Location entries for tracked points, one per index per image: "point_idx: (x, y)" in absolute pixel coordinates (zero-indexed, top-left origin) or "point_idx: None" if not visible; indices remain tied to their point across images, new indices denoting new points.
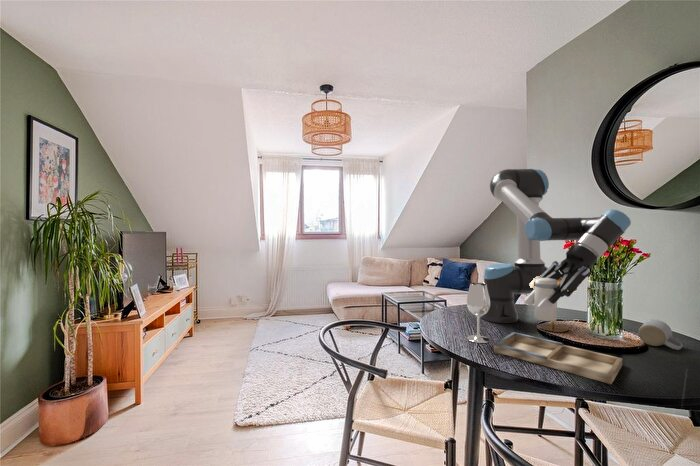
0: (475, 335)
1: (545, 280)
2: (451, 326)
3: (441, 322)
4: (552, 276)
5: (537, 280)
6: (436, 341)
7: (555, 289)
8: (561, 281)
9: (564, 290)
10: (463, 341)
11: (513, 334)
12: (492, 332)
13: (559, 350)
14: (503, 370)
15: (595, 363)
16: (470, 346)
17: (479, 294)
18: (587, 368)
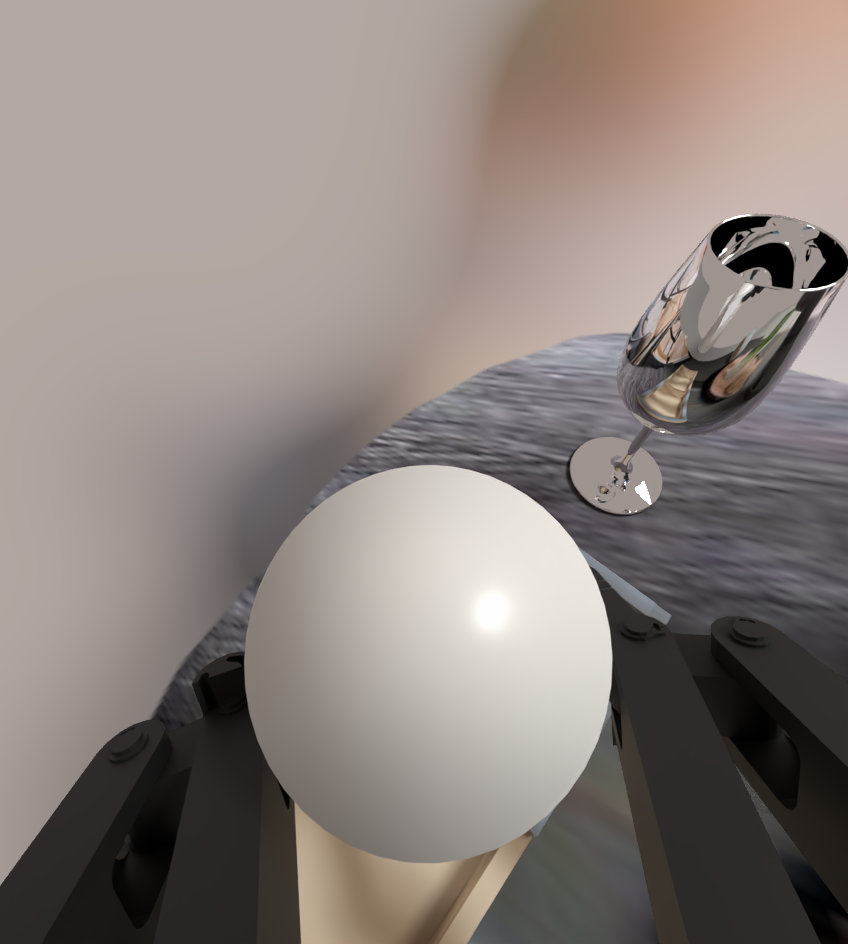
0: (649, 469)
1: (344, 574)
2: (762, 411)
3: (807, 384)
4: (677, 929)
5: (381, 474)
6: (556, 349)
7: (214, 662)
8: (229, 874)
9: (102, 750)
10: (577, 422)
11: (624, 598)
12: (747, 560)
13: None
14: (333, 479)
15: (364, 923)
16: (528, 434)
17: (660, 303)
18: (310, 818)
